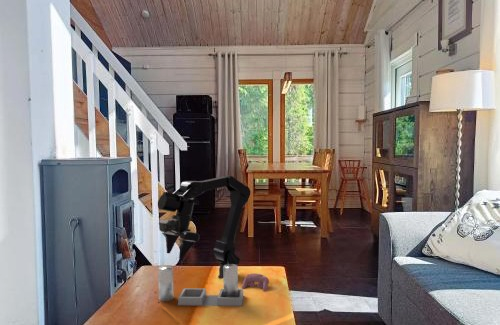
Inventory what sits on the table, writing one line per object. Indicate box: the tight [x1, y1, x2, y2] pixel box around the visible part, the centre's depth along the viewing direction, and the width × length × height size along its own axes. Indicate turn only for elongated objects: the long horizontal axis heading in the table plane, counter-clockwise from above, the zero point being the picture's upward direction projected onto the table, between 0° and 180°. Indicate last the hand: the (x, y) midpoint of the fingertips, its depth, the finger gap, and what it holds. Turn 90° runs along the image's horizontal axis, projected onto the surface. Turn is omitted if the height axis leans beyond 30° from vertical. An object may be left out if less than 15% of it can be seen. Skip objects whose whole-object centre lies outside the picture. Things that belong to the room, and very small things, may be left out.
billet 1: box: [157, 264, 174, 304], centre depth 127 cm, size 5×5×12 cm
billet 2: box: [222, 264, 239, 297], centre depth 124 cm, size 5×5×12 cm
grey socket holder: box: [177, 287, 245, 307], centre depth 125 cm, size 22×9×4 cm, turn 87°
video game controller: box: [241, 273, 270, 292], centre depth 136 cm, size 10×5×7 cm, turn 71°
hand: (174, 255), depth 132 cm, fingers open, 9 cm apart
